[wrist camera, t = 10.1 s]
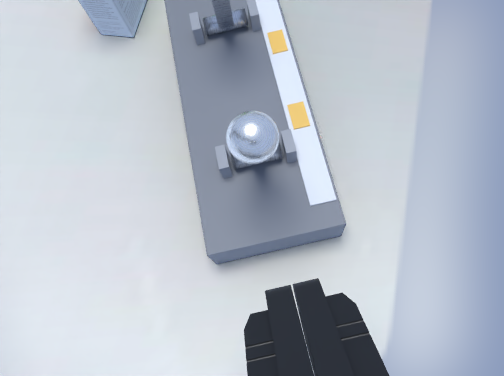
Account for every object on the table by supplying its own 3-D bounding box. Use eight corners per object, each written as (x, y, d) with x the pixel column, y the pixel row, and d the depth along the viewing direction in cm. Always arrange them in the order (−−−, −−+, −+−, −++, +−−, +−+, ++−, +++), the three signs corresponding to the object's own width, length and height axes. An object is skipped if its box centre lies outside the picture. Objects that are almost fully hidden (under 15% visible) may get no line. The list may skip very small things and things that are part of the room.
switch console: (216, 264, 35) (201, 250, 30) (173, 18, 45) (156, -28, 40) (340, 235, 35) (349, 216, 29) (270, -6, 45) (266, -55, 39)
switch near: (237, 178, 34) (221, 170, 21) (229, 143, 34) (208, 114, 22) (284, 167, 34) (295, 152, 21) (275, 132, 34) (282, 97, 21)
